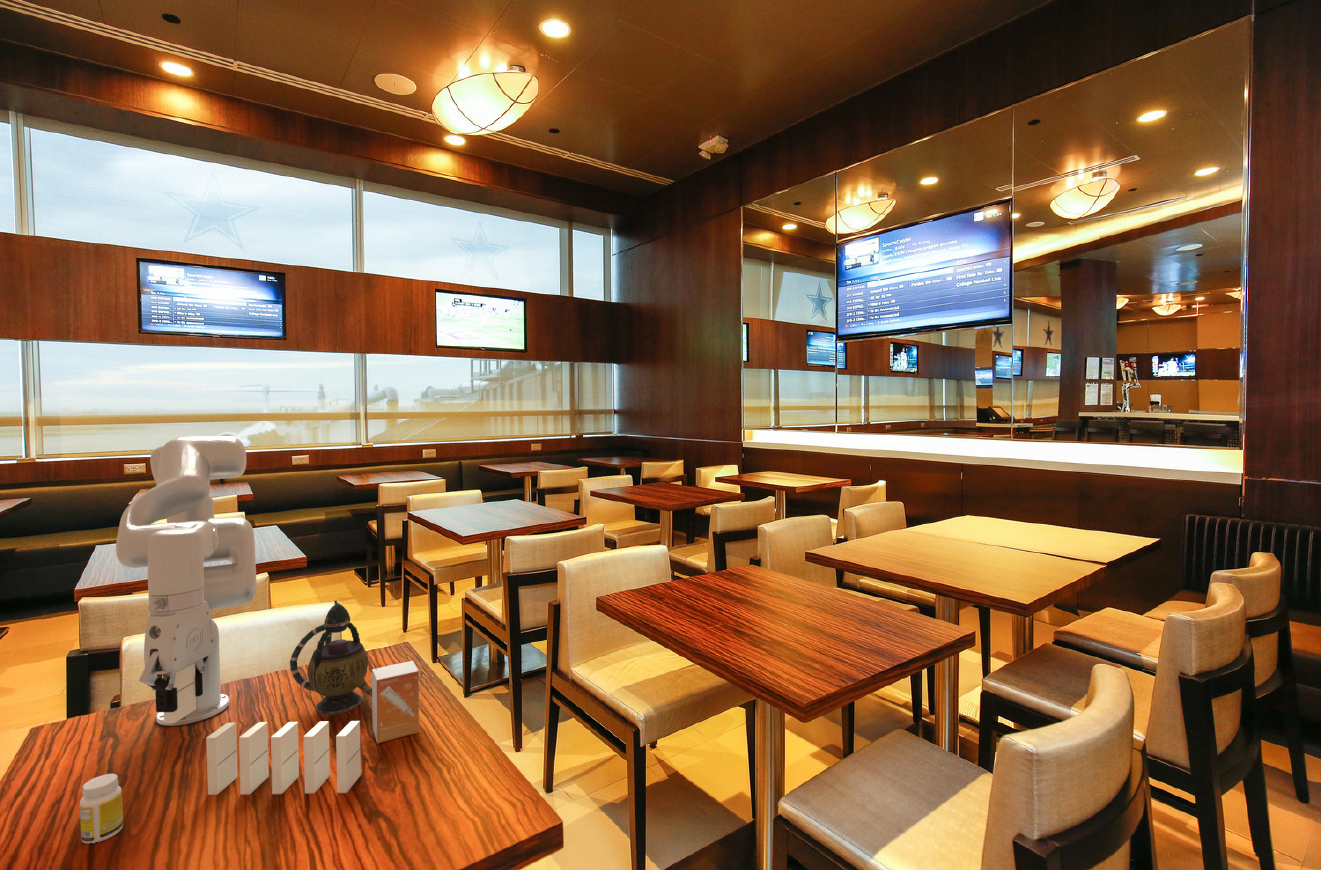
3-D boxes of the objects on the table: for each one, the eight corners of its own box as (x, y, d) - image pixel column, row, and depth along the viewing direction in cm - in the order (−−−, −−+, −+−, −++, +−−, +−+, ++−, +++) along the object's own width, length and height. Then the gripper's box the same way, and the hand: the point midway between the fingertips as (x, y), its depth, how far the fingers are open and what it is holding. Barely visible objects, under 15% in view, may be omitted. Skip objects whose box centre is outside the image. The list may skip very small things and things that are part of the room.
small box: (376, 744, 117) (375, 680, 117) (372, 730, 122) (371, 668, 122) (420, 732, 121) (419, 670, 121) (413, 719, 127) (412, 659, 126)
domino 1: (164, 723, 101) (162, 665, 101) (187, 709, 106) (185, 653, 106) (173, 723, 101) (172, 665, 101) (196, 708, 106) (194, 653, 106)
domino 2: (207, 794, 102) (206, 737, 101) (228, 776, 107) (227, 722, 106) (217, 794, 102) (215, 737, 101) (237, 776, 107) (236, 722, 106)
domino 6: (337, 792, 102) (336, 736, 102) (351, 775, 107) (350, 721, 107) (346, 792, 102) (345, 736, 102) (360, 775, 107) (359, 721, 107)
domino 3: (240, 794, 102) (239, 737, 101) (259, 776, 107) (258, 722, 106) (250, 794, 102) (248, 737, 101) (268, 776, 107) (267, 722, 106)
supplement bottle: (127, 819, 95) (126, 768, 95) (117, 838, 91) (115, 785, 91) (88, 829, 93) (86, 777, 93) (75, 848, 89) (73, 794, 89)
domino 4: (272, 794, 102) (270, 737, 101) (289, 776, 107) (288, 721, 106) (281, 793, 102) (280, 736, 101) (299, 776, 107) (297, 721, 106)
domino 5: (304, 793, 102) (303, 736, 102) (320, 775, 107) (319, 721, 107) (314, 793, 102) (313, 736, 102) (330, 775, 107) (329, 721, 107)
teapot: (333, 686, 142) (331, 591, 141) (415, 704, 133) (413, 602, 133) (285, 710, 131) (283, 606, 130) (372, 731, 122) (370, 619, 121)
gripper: (158, 616, 94) (161, 728, 95) (233, 586, 111) (236, 681, 112) (110, 616, 94) (114, 729, 95) (193, 586, 111) (195, 682, 112)
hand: (180, 702), depth 103 cm, fingers closed on domino 1, 4 cm apart
